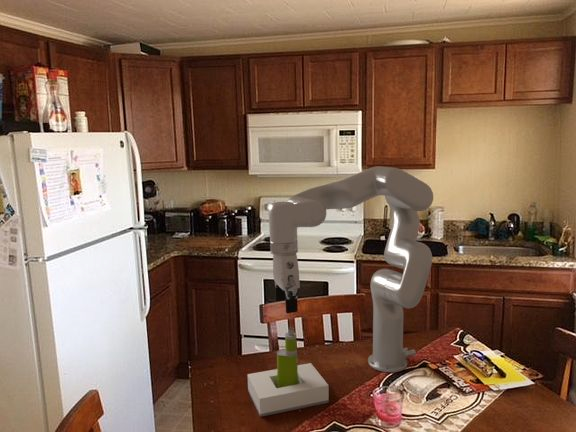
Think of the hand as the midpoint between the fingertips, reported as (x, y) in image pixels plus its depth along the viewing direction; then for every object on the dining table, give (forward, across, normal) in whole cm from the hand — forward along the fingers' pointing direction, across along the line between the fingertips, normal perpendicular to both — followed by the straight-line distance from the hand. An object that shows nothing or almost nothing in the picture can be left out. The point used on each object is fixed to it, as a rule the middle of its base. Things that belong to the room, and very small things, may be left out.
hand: (286, 306), depth 135 cm
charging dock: (+28, 0, +1) cm, 28 cm away
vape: (+27, 0, 0) cm, 27 cm away
